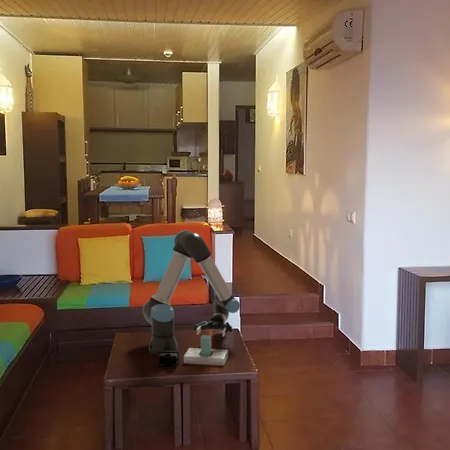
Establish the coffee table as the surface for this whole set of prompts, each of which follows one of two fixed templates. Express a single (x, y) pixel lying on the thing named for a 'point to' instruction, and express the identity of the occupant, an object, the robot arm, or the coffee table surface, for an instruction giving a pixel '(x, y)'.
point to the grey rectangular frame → (206, 357)
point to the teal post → (206, 345)
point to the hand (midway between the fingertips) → (210, 333)
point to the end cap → (168, 359)
